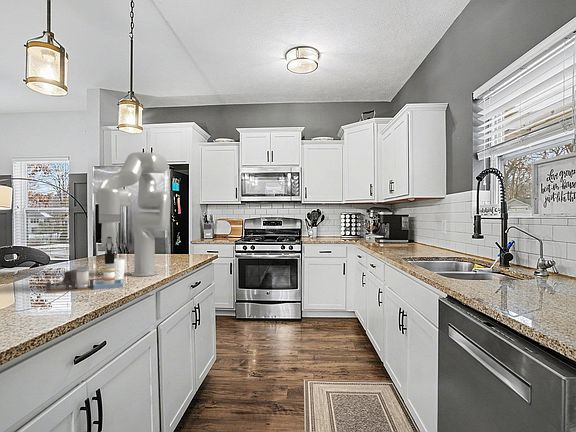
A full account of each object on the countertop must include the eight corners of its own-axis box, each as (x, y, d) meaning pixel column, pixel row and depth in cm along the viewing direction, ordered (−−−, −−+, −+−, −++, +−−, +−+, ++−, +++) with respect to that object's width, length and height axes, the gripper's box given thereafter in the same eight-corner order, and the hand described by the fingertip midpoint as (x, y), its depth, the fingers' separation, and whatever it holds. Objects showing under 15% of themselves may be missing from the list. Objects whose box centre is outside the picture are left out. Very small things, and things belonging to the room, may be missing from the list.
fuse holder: (49, 292, 132) (49, 280, 132) (93, 288, 139) (93, 277, 139) (43, 297, 123) (44, 284, 123) (91, 293, 130) (92, 281, 130)
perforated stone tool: (78, 282, 152) (78, 266, 153) (90, 282, 153) (91, 266, 153) (58, 289, 138) (59, 272, 138) (72, 289, 138) (72, 271, 138)
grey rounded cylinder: (76, 287, 133) (77, 266, 134) (89, 286, 135) (89, 266, 135) (75, 289, 130) (75, 268, 130) (88, 288, 132) (88, 267, 132)
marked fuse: (103, 287, 137) (103, 267, 138) (114, 286, 139) (115, 267, 139) (102, 289, 134) (102, 269, 134) (114, 288, 136) (115, 268, 136)
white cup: (105, 280, 156) (106, 258, 156) (125, 279, 160) (125, 258, 160) (104, 283, 149) (105, 260, 149) (124, 282, 152) (125, 259, 153)
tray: (95, 288, 139) (95, 281, 139) (122, 286, 143) (122, 279, 143) (93, 293, 130) (93, 285, 130) (122, 291, 134) (122, 283, 134)
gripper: (100, 218, 143) (100, 259, 143) (97, 220, 127) (97, 266, 128) (120, 218, 146) (120, 258, 147) (119, 219, 131) (120, 264, 131)
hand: (109, 261), depth 137 cm, fingers open, 9 cm apart
